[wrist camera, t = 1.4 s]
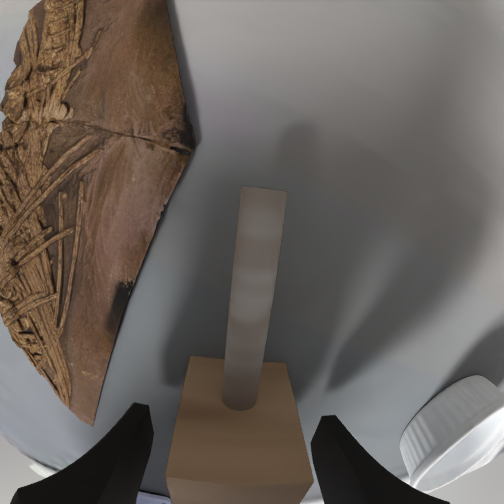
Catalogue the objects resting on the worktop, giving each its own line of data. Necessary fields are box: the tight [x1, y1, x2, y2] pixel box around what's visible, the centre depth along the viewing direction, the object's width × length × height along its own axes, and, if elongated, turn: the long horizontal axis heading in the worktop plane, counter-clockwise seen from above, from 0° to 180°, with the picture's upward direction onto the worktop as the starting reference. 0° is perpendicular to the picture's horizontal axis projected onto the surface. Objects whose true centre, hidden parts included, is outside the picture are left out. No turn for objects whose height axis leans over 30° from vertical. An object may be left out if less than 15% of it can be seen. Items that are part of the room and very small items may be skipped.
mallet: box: [165, 186, 314, 504], centre depth 8 cm, size 12×4×6 cm, turn 174°
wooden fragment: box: [0, 0, 196, 426], centre depth 9 cm, size 26×11×1 cm, turn 166°
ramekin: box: [400, 375, 504, 493], centre depth 12 cm, size 9×9×4 cm
